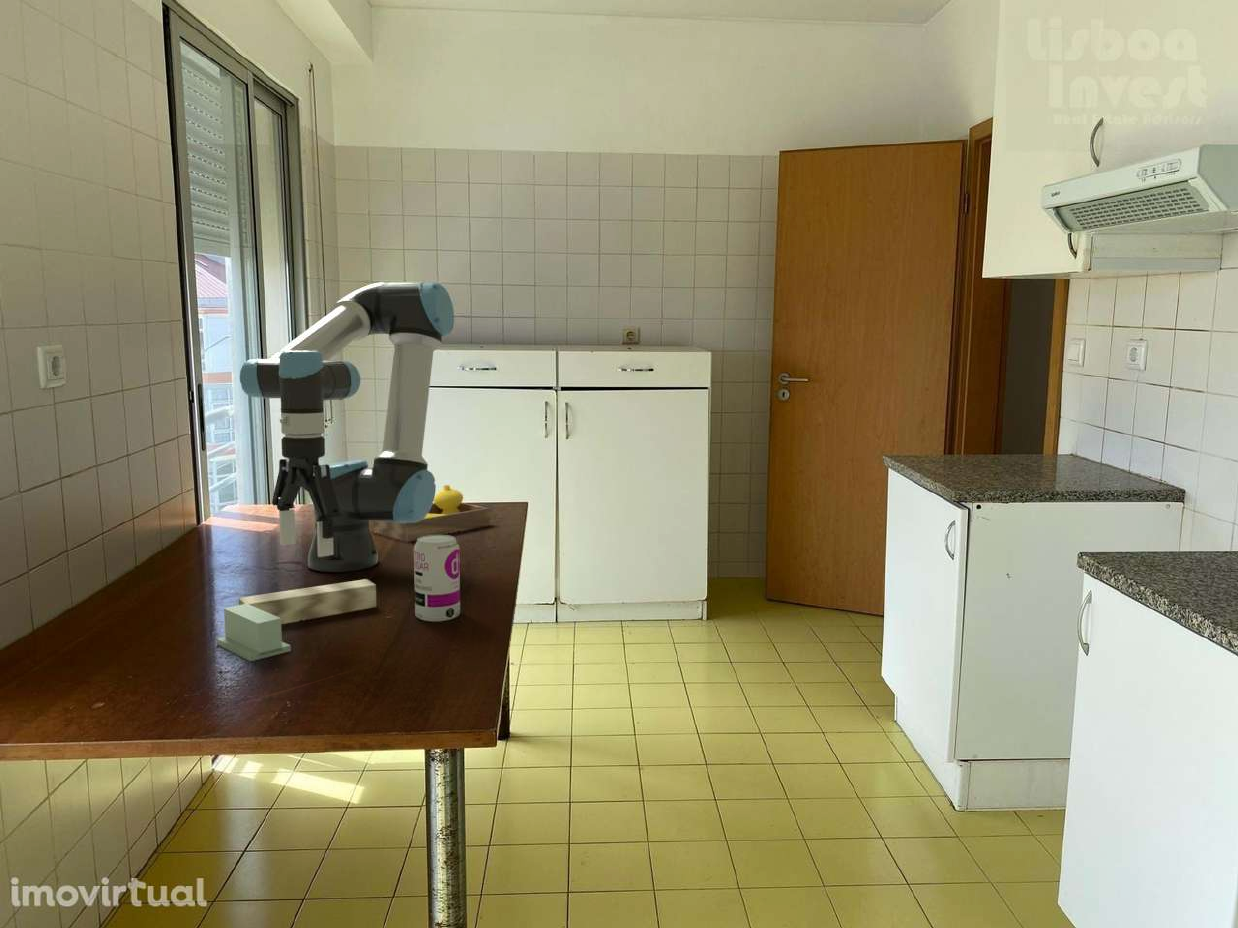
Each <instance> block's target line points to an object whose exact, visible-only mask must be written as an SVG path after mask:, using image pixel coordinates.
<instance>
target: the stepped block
mask: <svg viewBox="0 0 1238 928" xmlns="http://www.w3.org/2000/svg"><path fill="white" fill-rule="evenodd" d="M223 613H224V630H225V631H224V634H225V635H224V636H222V637H218V638H216V645H217V646H219V647H221V648H224V649H225V650H228V651H229V652H232V653H234V654H235V655H237V656H239V657H241V658H243V659H245V660H247V661H249V662H253V661H257V660H261V659H265V658H269V657H273V656H274V657H275V656H277V655H280V654H285V653H289V652H291V651H292V649H291V648H292V647H291V644H289V643H286V642H284V641H283V637H282V636H283V635H282V633H283V632H282V624H281V618H279V617H277V616H275V615H272V614H270V613H268V612H265V611H263V610H261V609H258V608H256V607H253V606H251V605H249V604H242V605H239V604H238V605H233V606H229V607H224V608H223Z"/></svg>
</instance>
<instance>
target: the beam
mask: <svg viewBox="0 0 1238 928" xmlns="http://www.w3.org/2000/svg"><path fill="white" fill-rule="evenodd" d="M242 604H249V605H251V606H253V607H256V608H258V609H261V610H263V611H265V612H268V613H270V614H272V615H275V616H277V617H279V618H281V625H285V624H289V623H290V624H291V623H296V622H300V620H302V621H307V620H311V619H312V620H313V619H318V618H323V617H328V616H334V615H339V614H344V613H350V612H356V611H361V610H366V609H372V608H377V584H375V583H374V582H373V581H371V580H369V579H367V578H363V579H359V580H358V579H357V580H352V581H351V580H350V581H343V582H337V583H336V582H335V583H330V584H324V585H323V584H322V585H317V586H311V587H302V588H296V589H289V590H283V591H282V590H281V591H277V592H276V591H275V592H270V593H269V592H268V593H263V594H256V595H249V596H242V597H239V598H238V605H242ZM306 619H307V620H306Z"/></svg>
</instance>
